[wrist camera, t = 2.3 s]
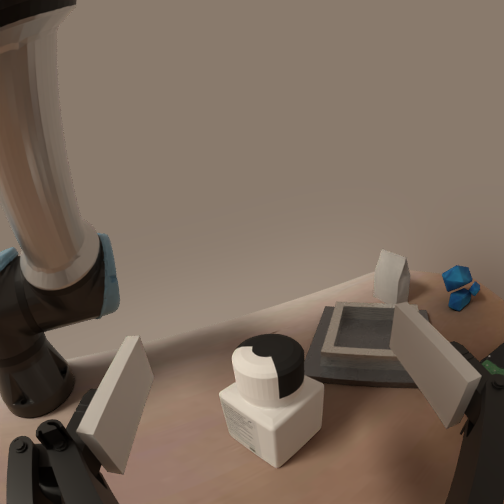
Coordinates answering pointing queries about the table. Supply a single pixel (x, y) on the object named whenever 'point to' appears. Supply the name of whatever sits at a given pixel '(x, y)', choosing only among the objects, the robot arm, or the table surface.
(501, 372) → the disk drive
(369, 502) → the table surface
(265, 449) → the container
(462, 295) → the blue lump
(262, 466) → the table surface
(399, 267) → the tea bag
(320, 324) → the collar plate
